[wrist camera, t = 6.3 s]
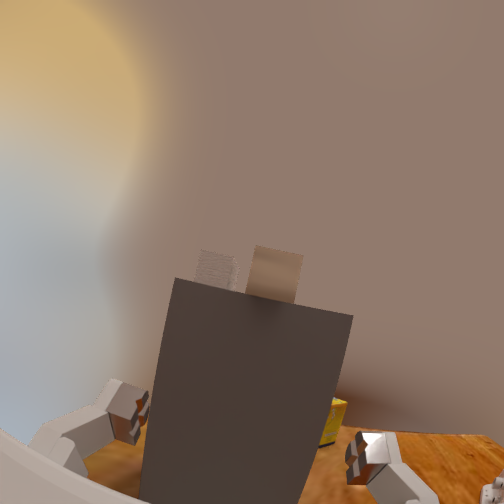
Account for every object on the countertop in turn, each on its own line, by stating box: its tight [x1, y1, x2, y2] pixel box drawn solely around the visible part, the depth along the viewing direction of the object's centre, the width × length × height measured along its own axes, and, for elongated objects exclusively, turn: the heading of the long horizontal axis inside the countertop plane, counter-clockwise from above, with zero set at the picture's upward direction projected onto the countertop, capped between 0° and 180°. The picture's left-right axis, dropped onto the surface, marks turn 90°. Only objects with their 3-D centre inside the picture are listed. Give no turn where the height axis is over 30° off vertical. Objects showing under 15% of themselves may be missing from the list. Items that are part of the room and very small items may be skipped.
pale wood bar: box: [194, 250, 240, 291], centre depth 34 cm, size 12×3×3 cm, turn 0°
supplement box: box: [318, 397, 347, 448], centre depth 62 cm, size 6×6×11 cm
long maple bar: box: [245, 245, 303, 304], centre depth 29 cm, size 20×3×3 cm, turn 0°
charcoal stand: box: [139, 278, 353, 504], centre depth 33 cm, size 16×16×30 cm
